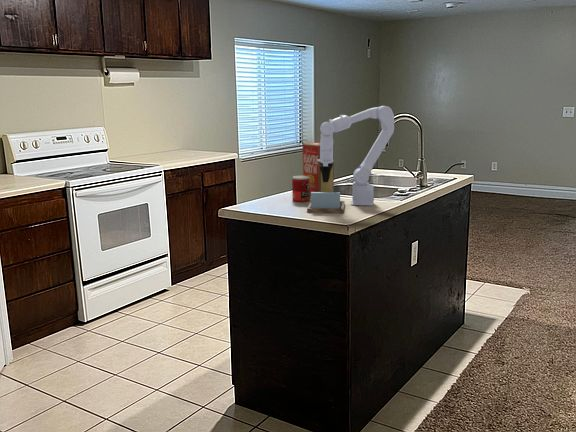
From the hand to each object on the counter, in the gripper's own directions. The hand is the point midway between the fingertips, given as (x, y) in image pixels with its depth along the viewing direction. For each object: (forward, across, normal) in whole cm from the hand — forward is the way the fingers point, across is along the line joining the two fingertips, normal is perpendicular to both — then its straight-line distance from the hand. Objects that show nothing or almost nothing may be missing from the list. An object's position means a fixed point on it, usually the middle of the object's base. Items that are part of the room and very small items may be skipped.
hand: (326, 180), depth 252 cm
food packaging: (+11, -19, -5) cm, 22 cm away
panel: (+10, +16, +1) cm, 19 cm away
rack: (+10, +10, +1) cm, 14 cm away
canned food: (+11, -7, -12) cm, 17 cm away
